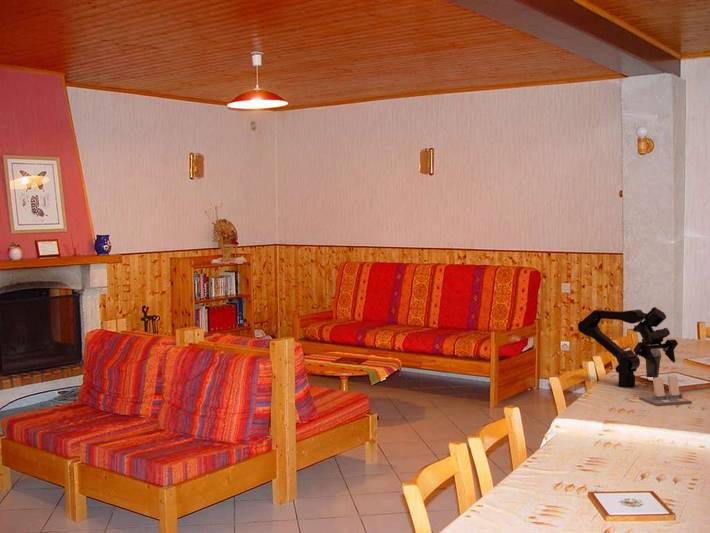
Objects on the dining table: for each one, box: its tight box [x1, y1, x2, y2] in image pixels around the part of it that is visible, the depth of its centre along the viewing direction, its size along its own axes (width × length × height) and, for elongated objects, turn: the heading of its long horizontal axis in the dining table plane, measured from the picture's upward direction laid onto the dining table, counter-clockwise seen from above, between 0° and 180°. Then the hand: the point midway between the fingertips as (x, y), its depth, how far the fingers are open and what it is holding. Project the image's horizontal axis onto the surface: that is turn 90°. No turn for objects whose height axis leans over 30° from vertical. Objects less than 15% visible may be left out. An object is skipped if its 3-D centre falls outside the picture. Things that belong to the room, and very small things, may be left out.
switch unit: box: [638, 392, 693, 407], centre depth 336 cm, size 12×16×3 cm
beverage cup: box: [644, 349, 662, 378], centre depth 374 cm, size 7×7×20 cm
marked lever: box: [667, 375, 680, 397], centre depth 337 cm, size 1×4×8 cm, turn 104°
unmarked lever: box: [652, 376, 666, 398], centre depth 336 cm, size 1×4×8 cm, turn 104°
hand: (665, 362), depth 344 cm, fingers open, 9 cm apart
